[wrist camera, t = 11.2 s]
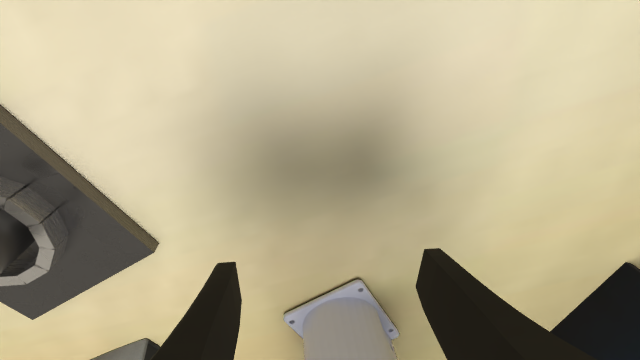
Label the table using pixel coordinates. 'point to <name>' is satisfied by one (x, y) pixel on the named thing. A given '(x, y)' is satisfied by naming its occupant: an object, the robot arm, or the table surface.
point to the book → (607, 319)
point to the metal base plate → (59, 226)
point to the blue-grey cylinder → (12, 239)
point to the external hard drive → (132, 351)
